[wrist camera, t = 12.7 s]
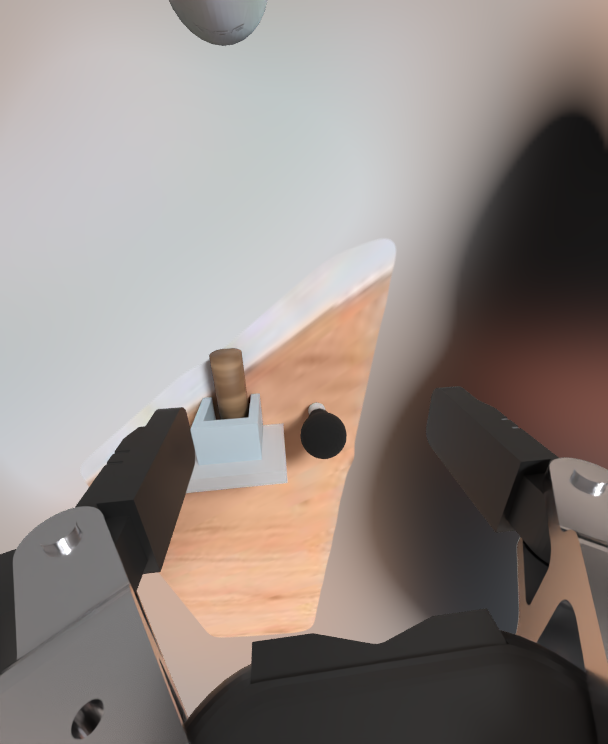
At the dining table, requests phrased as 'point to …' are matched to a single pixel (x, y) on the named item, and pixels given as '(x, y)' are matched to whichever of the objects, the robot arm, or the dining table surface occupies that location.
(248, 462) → the base plate
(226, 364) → the dowel
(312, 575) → the dining table surface
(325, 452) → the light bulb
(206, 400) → the sleeve block
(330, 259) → the dining table surface
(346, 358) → the dining table surface
